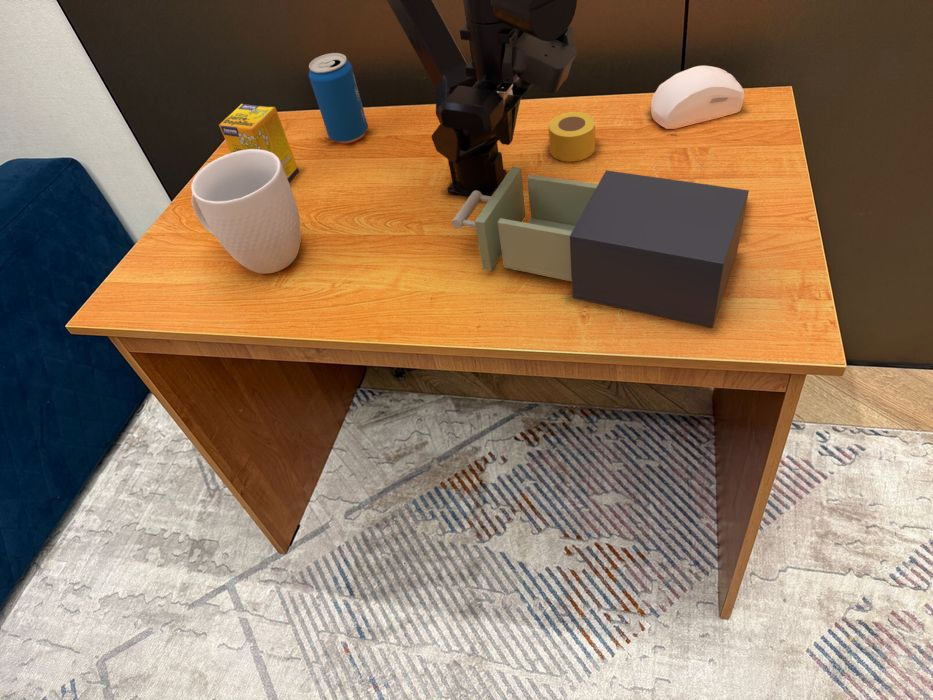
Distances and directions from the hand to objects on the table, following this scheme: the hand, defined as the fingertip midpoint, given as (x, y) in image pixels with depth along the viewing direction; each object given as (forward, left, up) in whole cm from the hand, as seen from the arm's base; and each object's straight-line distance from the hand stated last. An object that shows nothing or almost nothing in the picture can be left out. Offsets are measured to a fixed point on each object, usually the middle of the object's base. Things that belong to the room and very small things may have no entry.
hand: (506, 143), depth 84 cm
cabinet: (+21, -7, -10) cm, 24 cm away
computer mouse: (+17, +28, -10) cm, 34 cm away
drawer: (+6, -7, -9) cm, 13 cm away
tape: (+3, +15, -10) cm, 18 cm away
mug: (-28, -18, -10) cm, 35 cm away
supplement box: (-38, -3, -10) cm, 40 cm away
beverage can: (-33, +11, -10) cm, 37 cm away
